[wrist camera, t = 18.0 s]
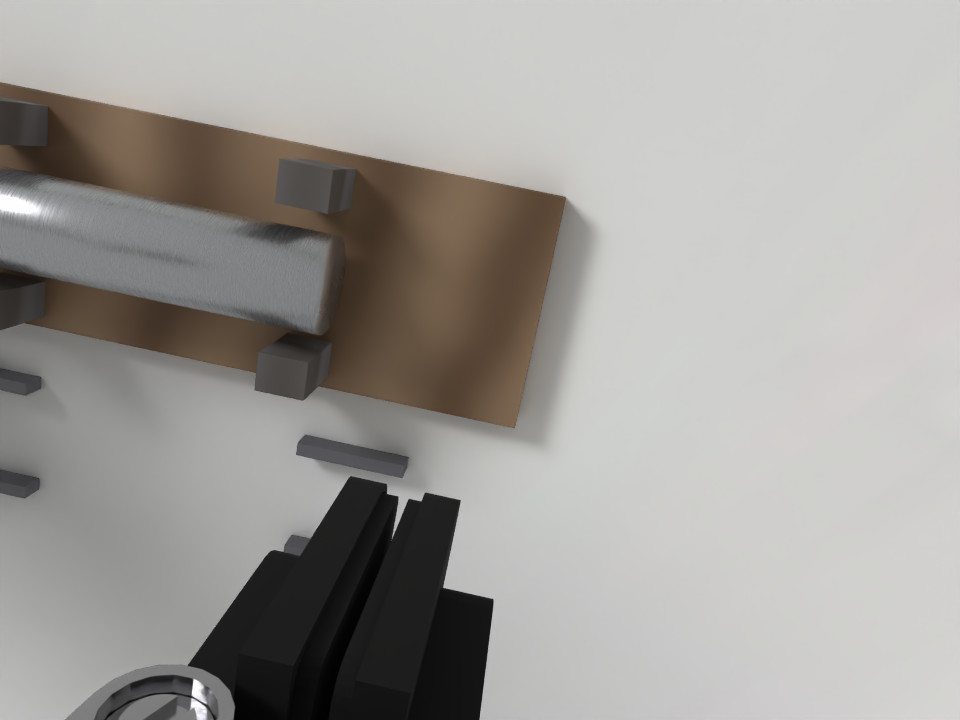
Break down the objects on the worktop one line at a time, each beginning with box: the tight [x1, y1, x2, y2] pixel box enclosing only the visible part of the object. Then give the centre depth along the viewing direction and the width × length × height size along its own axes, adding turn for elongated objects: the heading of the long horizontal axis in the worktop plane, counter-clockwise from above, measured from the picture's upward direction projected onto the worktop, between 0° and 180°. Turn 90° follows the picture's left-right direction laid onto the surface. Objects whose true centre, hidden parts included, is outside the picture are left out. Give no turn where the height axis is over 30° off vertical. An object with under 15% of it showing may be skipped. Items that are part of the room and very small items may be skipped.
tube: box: [0, 165, 346, 335], centre depth 28 cm, size 24×4×4 cm, turn 79°
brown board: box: [0, 82, 566, 428], centre depth 27 cm, size 32×10×9 cm, turn 79°
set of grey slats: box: [0, 369, 409, 556], centre depth 34 cm, size 23×6×1 cm, turn 79°
